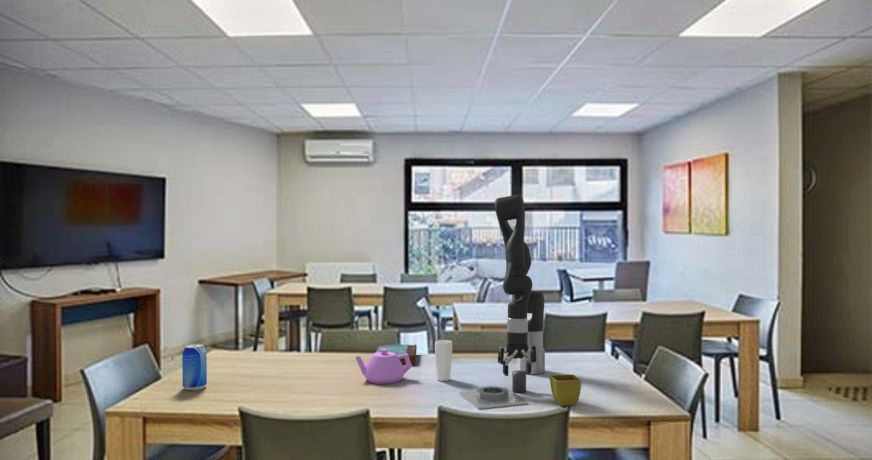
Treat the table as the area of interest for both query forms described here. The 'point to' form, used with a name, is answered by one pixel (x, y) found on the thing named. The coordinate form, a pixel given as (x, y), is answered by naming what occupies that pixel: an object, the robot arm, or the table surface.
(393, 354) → the teapot
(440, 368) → the drinking glass
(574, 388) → the flower pot
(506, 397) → the square base plate
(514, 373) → the cap
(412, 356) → the book
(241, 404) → the table surface
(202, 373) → the beer can
